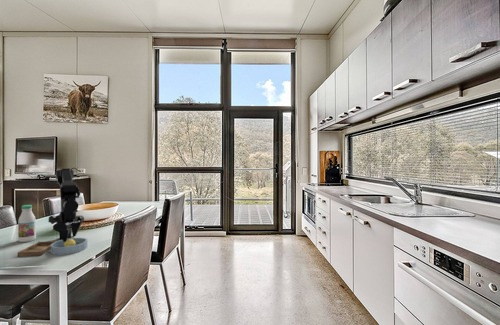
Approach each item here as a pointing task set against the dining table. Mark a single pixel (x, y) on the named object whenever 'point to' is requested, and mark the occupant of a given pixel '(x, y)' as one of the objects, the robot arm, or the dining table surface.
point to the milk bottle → (26, 225)
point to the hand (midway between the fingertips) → (69, 239)
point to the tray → (36, 249)
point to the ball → (69, 243)
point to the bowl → (60, 249)
